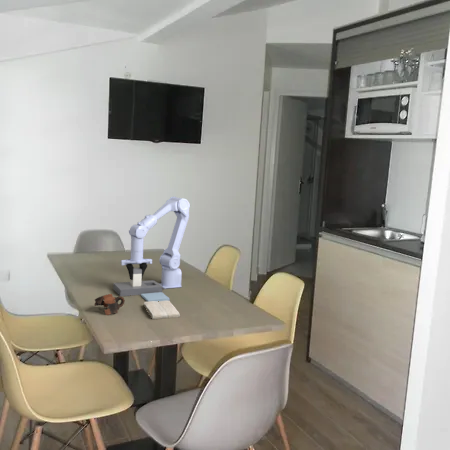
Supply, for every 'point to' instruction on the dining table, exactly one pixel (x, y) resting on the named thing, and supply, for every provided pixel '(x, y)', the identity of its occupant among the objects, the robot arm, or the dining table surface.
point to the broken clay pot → (110, 303)
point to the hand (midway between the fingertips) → (136, 279)
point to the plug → (136, 277)
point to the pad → (155, 297)
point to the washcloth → (161, 309)
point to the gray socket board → (137, 288)
